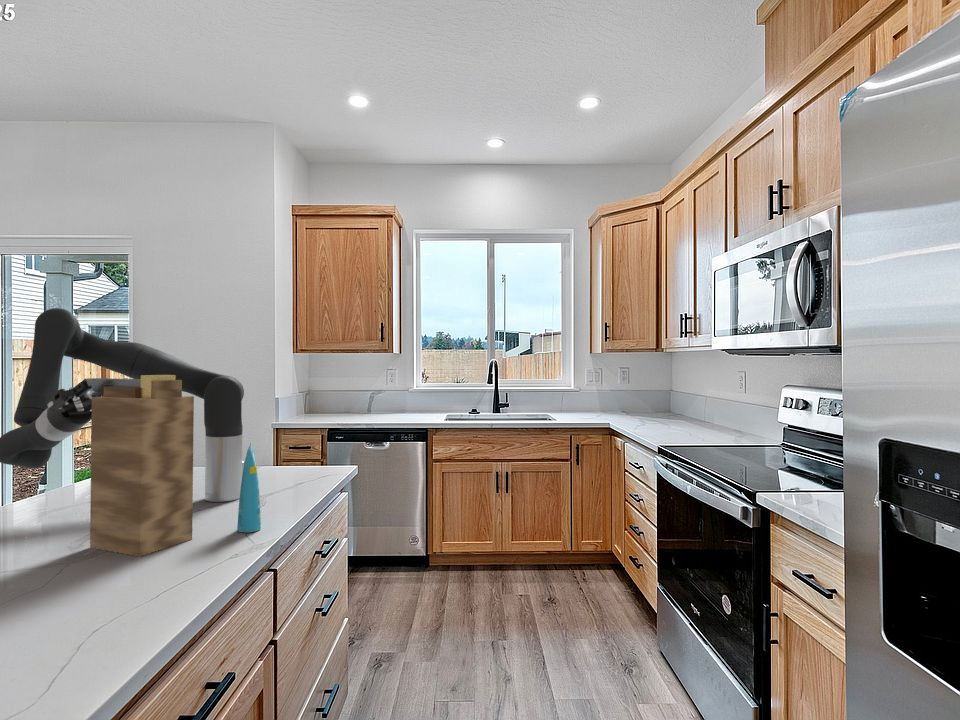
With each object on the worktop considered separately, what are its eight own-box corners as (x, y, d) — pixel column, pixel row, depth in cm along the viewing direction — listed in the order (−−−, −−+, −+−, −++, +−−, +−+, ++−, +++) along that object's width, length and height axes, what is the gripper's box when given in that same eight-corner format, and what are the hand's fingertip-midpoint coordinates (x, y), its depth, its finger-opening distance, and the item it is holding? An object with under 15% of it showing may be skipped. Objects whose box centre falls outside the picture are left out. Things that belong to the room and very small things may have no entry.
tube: (262, 533, 126) (263, 445, 126) (238, 535, 124) (239, 446, 124) (259, 524, 133) (259, 440, 133) (236, 526, 131) (237, 441, 131)
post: (144, 531, 127) (146, 378, 127) (192, 539, 122) (193, 379, 122) (89, 547, 116) (91, 379, 116) (139, 556, 110) (141, 381, 111)
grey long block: (104, 394, 127) (105, 373, 127) (175, 396, 119) (175, 375, 119) (79, 395, 122) (79, 373, 122) (151, 398, 114) (151, 375, 114)
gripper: (23, 404, 122) (68, 367, 117) (91, 400, 135) (134, 366, 130) (35, 436, 120) (81, 399, 115) (101, 429, 134) (145, 396, 128)
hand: (109, 382), depth 122 cm, fingers open, 8 cm apart
